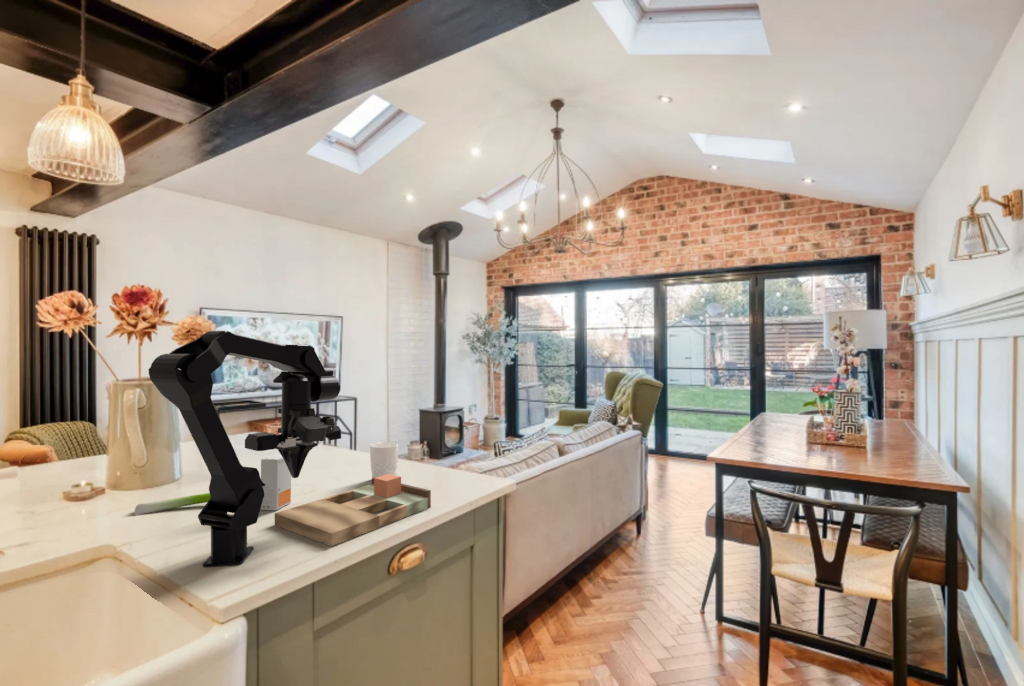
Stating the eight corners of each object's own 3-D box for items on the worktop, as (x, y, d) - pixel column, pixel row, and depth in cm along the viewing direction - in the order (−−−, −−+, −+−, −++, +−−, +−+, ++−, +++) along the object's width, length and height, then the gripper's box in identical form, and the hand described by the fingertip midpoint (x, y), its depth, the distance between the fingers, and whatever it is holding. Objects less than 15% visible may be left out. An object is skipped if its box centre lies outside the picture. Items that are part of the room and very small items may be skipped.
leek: (144, 516, 117) (281, 493, 126) (132, 531, 110) (278, 505, 120) (140, 492, 116) (279, 471, 125) (128, 506, 109) (275, 481, 119)
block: (386, 498, 115) (386, 481, 115) (374, 494, 118) (374, 478, 118) (401, 493, 119) (401, 476, 119) (388, 490, 122) (388, 473, 121)
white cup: (364, 482, 137) (364, 446, 137) (379, 475, 145) (379, 441, 145) (389, 484, 135) (389, 448, 135) (403, 477, 142) (403, 442, 142)
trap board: (331, 546, 94) (331, 525, 94) (274, 524, 105) (274, 506, 105) (430, 507, 116) (430, 490, 116) (374, 492, 128) (374, 477, 128)
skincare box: (277, 511, 114) (276, 459, 114) (260, 510, 114) (259, 459, 114) (292, 502, 120) (291, 453, 120) (275, 502, 120) (275, 453, 120)
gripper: (273, 410, 92) (271, 494, 91) (357, 402, 107) (356, 474, 106) (244, 406, 98) (242, 484, 98) (327, 399, 113) (326, 467, 113)
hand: (295, 477), depth 104 cm, fingers closed
